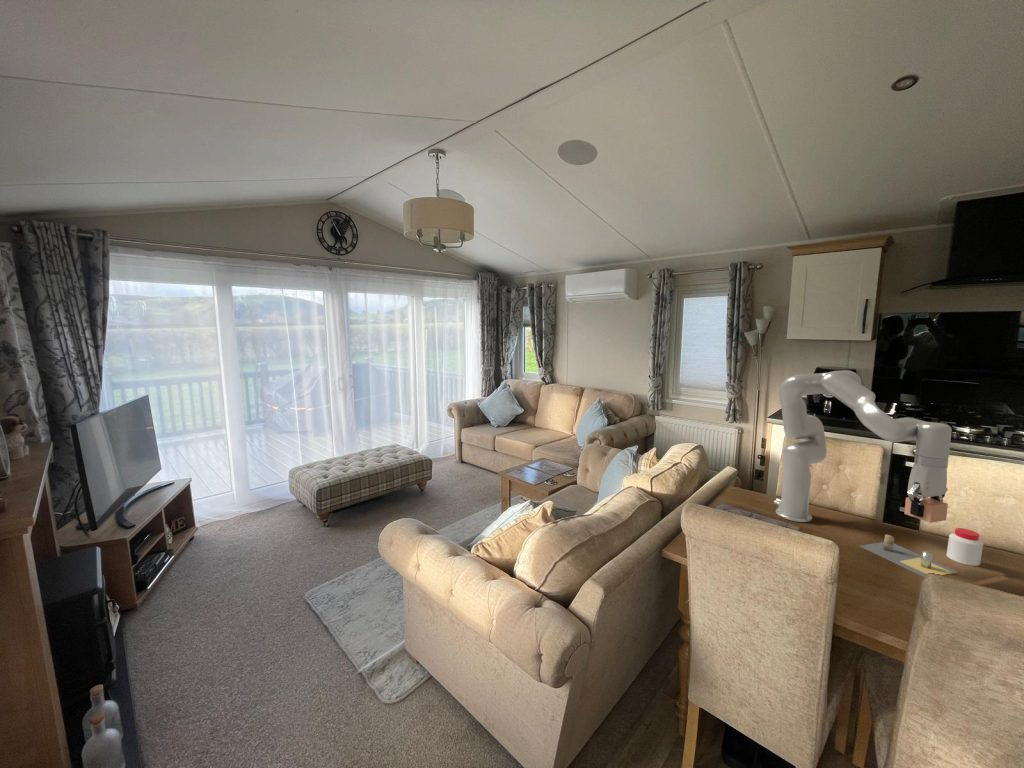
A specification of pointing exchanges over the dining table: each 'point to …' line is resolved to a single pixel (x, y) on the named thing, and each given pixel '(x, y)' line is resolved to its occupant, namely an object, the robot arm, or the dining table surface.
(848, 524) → the dining table surface
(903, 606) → the dining table surface
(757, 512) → the dining table surface
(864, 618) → the dining table surface
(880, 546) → the post board
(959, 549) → the pill bottle
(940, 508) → the tan boxy piece
